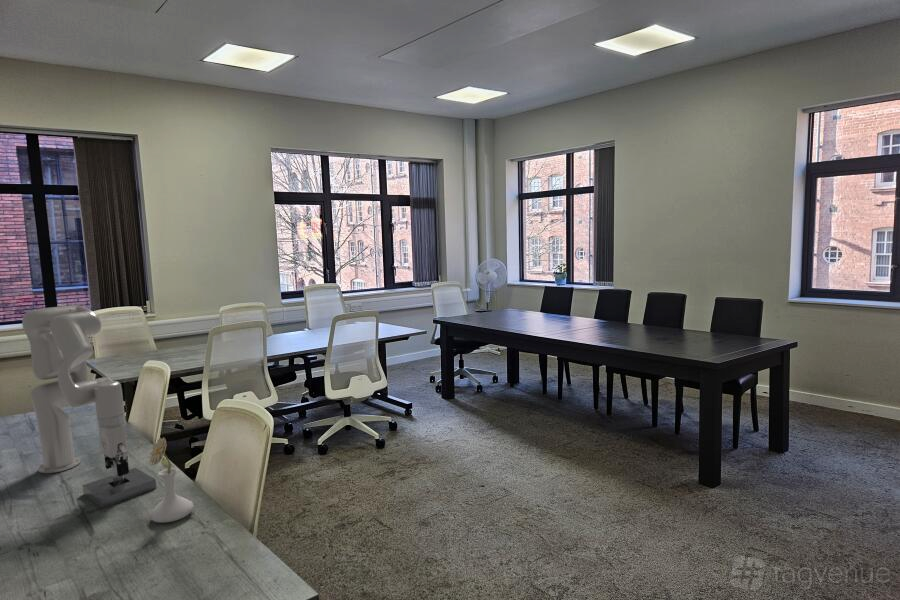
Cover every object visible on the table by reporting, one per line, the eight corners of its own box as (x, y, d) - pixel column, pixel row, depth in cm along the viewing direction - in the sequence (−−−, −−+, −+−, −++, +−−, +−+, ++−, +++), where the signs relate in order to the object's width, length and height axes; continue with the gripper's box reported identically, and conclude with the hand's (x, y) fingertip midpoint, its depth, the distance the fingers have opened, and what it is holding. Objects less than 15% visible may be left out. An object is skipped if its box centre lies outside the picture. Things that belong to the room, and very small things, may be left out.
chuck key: (108, 493, 177) (104, 460, 176) (128, 486, 182) (124, 454, 180) (111, 495, 175) (107, 463, 174) (131, 488, 180) (128, 456, 178)
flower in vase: (153, 512, 163) (143, 431, 160) (195, 503, 167) (186, 424, 164) (148, 533, 151) (138, 446, 148) (193, 523, 155) (184, 438, 152)
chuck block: (83, 494, 177) (82, 485, 177) (136, 476, 189) (135, 467, 189) (102, 507, 167) (100, 498, 167) (156, 487, 179) (155, 479, 179)
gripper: (88, 418, 178) (94, 468, 180) (108, 429, 167) (115, 482, 169) (113, 412, 184) (119, 460, 186) (135, 421, 173) (140, 473, 175)
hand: (117, 470), depth 178 cm, fingers open, 9 cm apart
